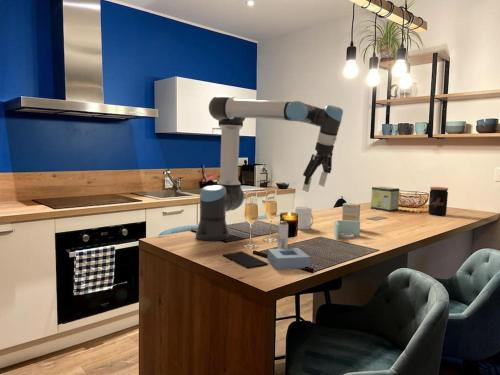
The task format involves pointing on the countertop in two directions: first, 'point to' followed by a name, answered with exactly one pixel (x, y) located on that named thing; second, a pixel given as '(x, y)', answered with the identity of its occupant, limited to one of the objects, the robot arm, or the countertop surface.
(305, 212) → the mug
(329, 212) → the countertop surface
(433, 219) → the countertop surface
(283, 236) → the shaft
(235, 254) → the cell phone
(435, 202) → the coffee jar
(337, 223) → the right angle wall
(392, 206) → the protein box
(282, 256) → the block
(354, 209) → the supplement box
